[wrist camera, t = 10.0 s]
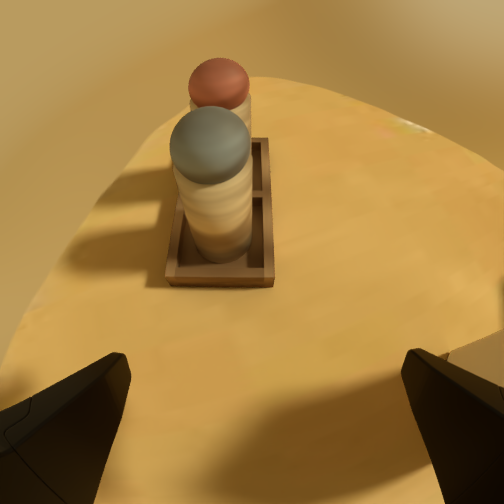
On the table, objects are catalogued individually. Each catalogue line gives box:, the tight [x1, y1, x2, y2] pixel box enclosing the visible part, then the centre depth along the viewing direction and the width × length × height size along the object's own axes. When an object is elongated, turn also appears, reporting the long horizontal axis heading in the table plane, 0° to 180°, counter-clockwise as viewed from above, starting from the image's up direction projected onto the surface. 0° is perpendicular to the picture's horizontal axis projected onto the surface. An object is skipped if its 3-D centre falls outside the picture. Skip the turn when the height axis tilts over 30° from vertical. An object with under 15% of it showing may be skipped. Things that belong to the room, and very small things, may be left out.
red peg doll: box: [188, 58, 251, 152], centre depth 23 cm, size 5×5×13 cm
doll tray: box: [165, 138, 275, 287], centre depth 27 cm, size 16×9×2 cm, turn 0°
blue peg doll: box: [170, 106, 253, 263], centre depth 19 cm, size 5×5×13 cm
